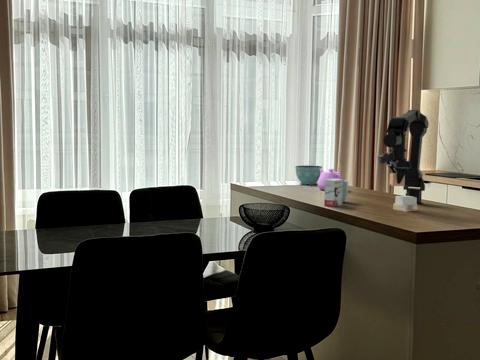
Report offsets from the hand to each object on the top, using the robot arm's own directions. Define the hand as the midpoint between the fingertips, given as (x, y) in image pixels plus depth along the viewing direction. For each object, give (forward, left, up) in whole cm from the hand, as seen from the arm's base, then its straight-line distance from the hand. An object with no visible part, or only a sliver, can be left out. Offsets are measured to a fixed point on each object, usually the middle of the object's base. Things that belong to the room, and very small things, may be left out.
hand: (397, 182), depth 241 cm
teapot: (-6, -70, -12) cm, 71 cm away
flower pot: (-8, -100, -12) cm, 101 cm away
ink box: (+21, -17, -12) cm, 30 cm away
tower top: (-3, +3, -9) cm, 10 cm away
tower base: (-3, +3, -12) cm, 12 cm away
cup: (+13, -26, -12) cm, 31 cm away
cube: (0, 0, -1) cm, 1 cm away
